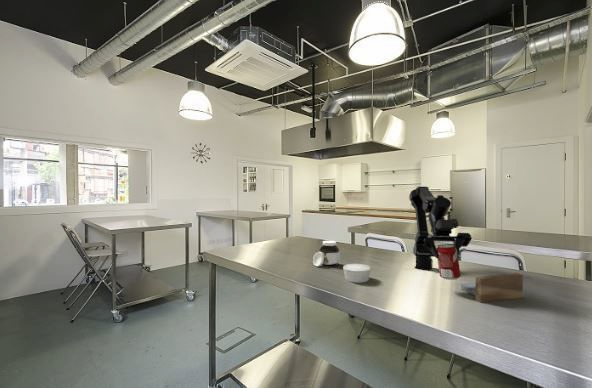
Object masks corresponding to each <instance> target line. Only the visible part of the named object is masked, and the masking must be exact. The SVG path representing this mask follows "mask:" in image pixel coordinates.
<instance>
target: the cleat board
mask: <svg viewBox="0 0 592 388" xmlns="http://www.w3.org/2000/svg"><path fill="white" fill-rule="evenodd" d="M523 276H524V274H522V273H518V272H516V273H515V272H514V273H505V274H503V273H502V274H494V275H491V274H490V275H483V276H481V275H480V276H475V282H469V283H461V284H460V290H461V291H464V292H466V293H469V294H471V295H473V296H475V299H474V300H475V302H479V303H488V302H498V301H505V300H513V299H522V298H524V297H523V295H524V294H523V290H524V289H523V288H524V286H523V285H524V283H523V281H524V277H523Z"/></svg>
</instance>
